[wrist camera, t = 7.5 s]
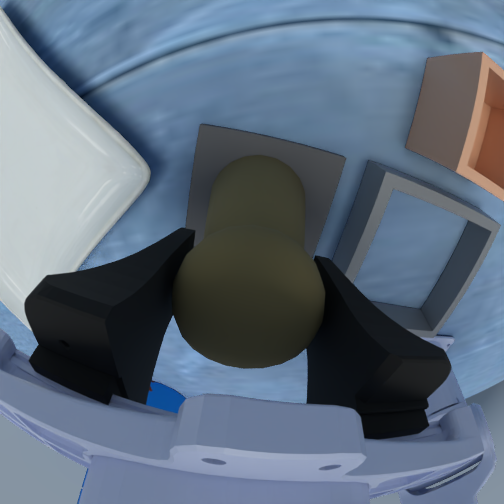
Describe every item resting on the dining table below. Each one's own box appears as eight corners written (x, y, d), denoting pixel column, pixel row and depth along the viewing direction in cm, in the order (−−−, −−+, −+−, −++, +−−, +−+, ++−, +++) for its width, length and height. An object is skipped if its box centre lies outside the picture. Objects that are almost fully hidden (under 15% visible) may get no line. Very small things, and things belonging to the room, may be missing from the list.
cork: (211, 240, 19) (164, 380, 10) (209, 152, 16) (126, 245, 6) (299, 246, 19) (321, 392, 9) (311, 159, 16) (373, 261, 6)
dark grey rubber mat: (304, 272, 21) (305, 277, 20) (185, 247, 20) (183, 252, 20) (343, 156, 16) (346, 158, 15) (202, 123, 15) (199, 124, 15)
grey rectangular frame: (422, 316, 22) (433, 338, 20) (315, 299, 22) (319, 325, 19) (480, 209, 17) (500, 225, 14) (368, 159, 16) (386, 171, 13)
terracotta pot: (471, 181, 16) (520, 213, 10) (405, 147, 15) (455, 172, 10) (492, 103, 12) (546, 117, 7) (427, 58, 12) (482, 51, 6)
